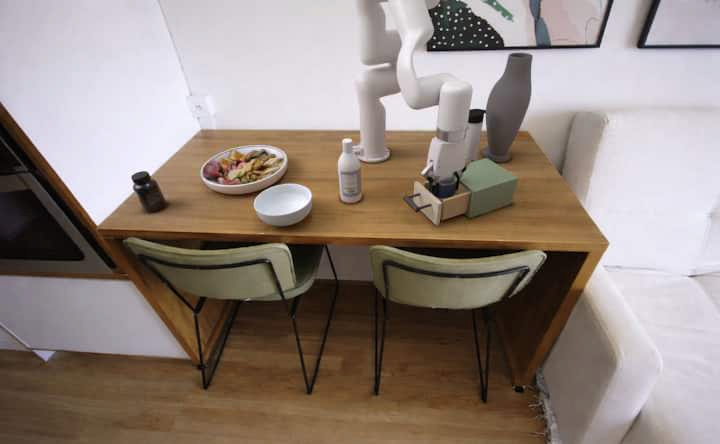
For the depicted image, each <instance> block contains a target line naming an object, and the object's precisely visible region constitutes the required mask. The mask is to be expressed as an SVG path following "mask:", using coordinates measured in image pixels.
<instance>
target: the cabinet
mask: <svg viewBox="0 0 720 444" xmlns="http://www.w3.org/2000/svg"><path fill="white" fill-rule="evenodd" d="M518 182H519V176H517V175H515V174H514V173H512V172H510V171H509V170H507V169H505V168H504V167H502V166H500V165H499V164H497V163H496V162H495V161H492V160H489V159H488V158H485V157H484V158H482V159H477V160H476V161H474V162H471V163H470V165H469V166H468V167H467V169H466V170H465V172H464V173H463V176H462V177H461V178H460V182H459V183H460V184H461V185H462V186H464V187H465V188H466V189H468V190H469V191H470V192H471V193H472V195H471V200H470V205H469V210H468V212H466V213H463V215H465V216H466V217H467V218H468V219H471V218H474V217H476V216H477V217H478V216H480V215H482V214H485V213H489V212H491V211H494V210H498V209H500V208H503V207H507V206H509V205H512V204H513V203H512V202H513V200H514V196H515V193H516V190H517V185H518Z"/></svg>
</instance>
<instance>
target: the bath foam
mask: <svg viewBox="0 0 720 444" xmlns="http://www.w3.org/2000/svg"><path fill="white" fill-rule="evenodd" d="M341 141H342V142H341V143H342V152H341V154H340V156H339V158H338V161H337V175H338V185H339V187H338V188H339V196H340V197H339V198H340V200H341V201H343V202H344V203H348V204H354V203H357V202H359V201H361V199H362V196H363V195H362V194H363V192H362V169H361V162H360V161H361V160H360V159H359V158H358V156H357V153H354V152H353V146H354V144H353V139H351V138H347V137H346V138H343V139H342V140H341Z"/></svg>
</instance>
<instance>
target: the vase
mask: <svg viewBox="0 0 720 444" xmlns="http://www.w3.org/2000/svg"><path fill="white" fill-rule="evenodd" d="M533 58H534V55H533V54H531V53H528V52H511V53H509V54H508V56H507V60H506V64H505V68H504V71H503V73H502V75H501V77H500V78H499V79H498V80H497V81H496V82H495V84H494V85H493V86H492V88H491V90H490V92H489V95H488V97H487V102H486V106H485V110H486V114H485V128H486V137H487V139H486V140H487V145H486V146H484V147H483V148H482V153H481V154H482V156H483V157H484V159H485V158H488V159H489V160H491V161H493V162H495V163H496V162H497V163H504V162H507V161H509V160H510V158H511V152H510V149H511V147H512V146H513V143H514V142H515V140H516V138H517V136H518V134H519V131H520V129H521V127H522V124H523V122H524V119H525V116H526V114H527V112H528V109H529V106H530V103H531V98H532V64H533Z"/></svg>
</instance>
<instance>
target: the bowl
mask: <svg viewBox="0 0 720 444" xmlns="http://www.w3.org/2000/svg"><path fill="white" fill-rule="evenodd" d="M288 165H289V163H288V157H287V154H286V153H285V152H284V151H283V150H282V149H280V148H279V147H275V146H271V145H266V144H252V145H244V146H237V147H234V148H229V149H227V150H224V151H222V152H220V153H218V154H216V155H213V156H212V157H211V158H210V159H208V160H207V161H206V162H205V163H204V164H203V165H202V166H201V169H200V176H201V179H202V181H203V183H204V184H205V185H206V186H207V187H208V188H209V189H211V190H213V191H216V192H218V193H221V194H224V195H225V194H226V195H244V194H245V195H247V194H251V193H255V192H259V191H261V190H265V189H266V188H270V187H271V186H272V185H274V184H275V183H276V182H278V181H279V180H280V179H282V177H283V176H284V175H285V173H286V171H287V169H288Z"/></svg>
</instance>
